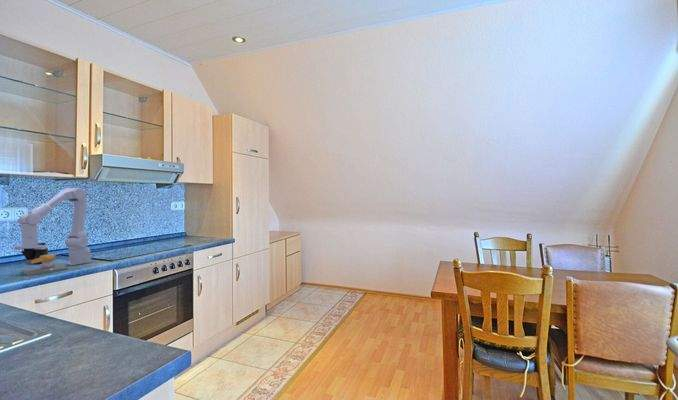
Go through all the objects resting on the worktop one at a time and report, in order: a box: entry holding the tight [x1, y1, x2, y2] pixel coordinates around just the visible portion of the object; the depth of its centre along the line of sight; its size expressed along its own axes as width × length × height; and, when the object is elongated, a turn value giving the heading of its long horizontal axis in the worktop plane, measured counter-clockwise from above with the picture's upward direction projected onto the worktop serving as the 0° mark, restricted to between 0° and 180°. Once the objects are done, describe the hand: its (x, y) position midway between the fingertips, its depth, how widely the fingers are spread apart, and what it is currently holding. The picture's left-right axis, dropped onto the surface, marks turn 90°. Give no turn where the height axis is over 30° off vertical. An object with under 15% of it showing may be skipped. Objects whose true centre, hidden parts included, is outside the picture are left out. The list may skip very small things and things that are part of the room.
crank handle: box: [25, 253, 56, 266], centre depth 160 cm, size 14×6×3 cm, turn 0°
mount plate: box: [21, 260, 68, 277], centre depth 163 cm, size 15×14×5 cm
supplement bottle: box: [32, 242, 49, 265], centre depth 181 cm, size 7×7×12 cm
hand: (30, 263), depth 157 cm, fingers closed
